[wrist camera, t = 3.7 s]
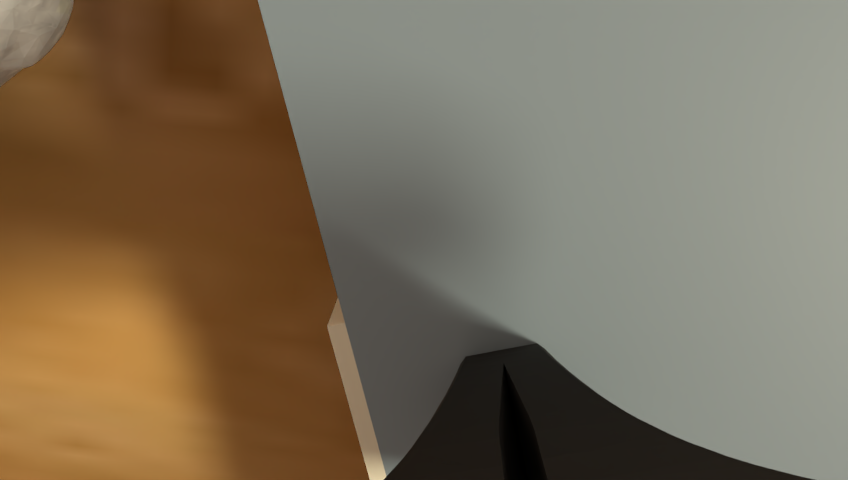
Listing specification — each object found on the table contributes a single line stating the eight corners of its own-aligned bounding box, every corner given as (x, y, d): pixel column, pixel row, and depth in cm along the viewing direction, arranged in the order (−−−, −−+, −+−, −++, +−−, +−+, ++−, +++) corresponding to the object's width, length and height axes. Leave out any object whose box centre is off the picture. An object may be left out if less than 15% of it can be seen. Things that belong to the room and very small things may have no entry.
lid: (881, 537, 16) (996, 660, 12) (441, 611, 16) (444, 747, 13) (858, -132, 12) (1018, -202, 9) (282, 3, 12) (232, -14, 9)
